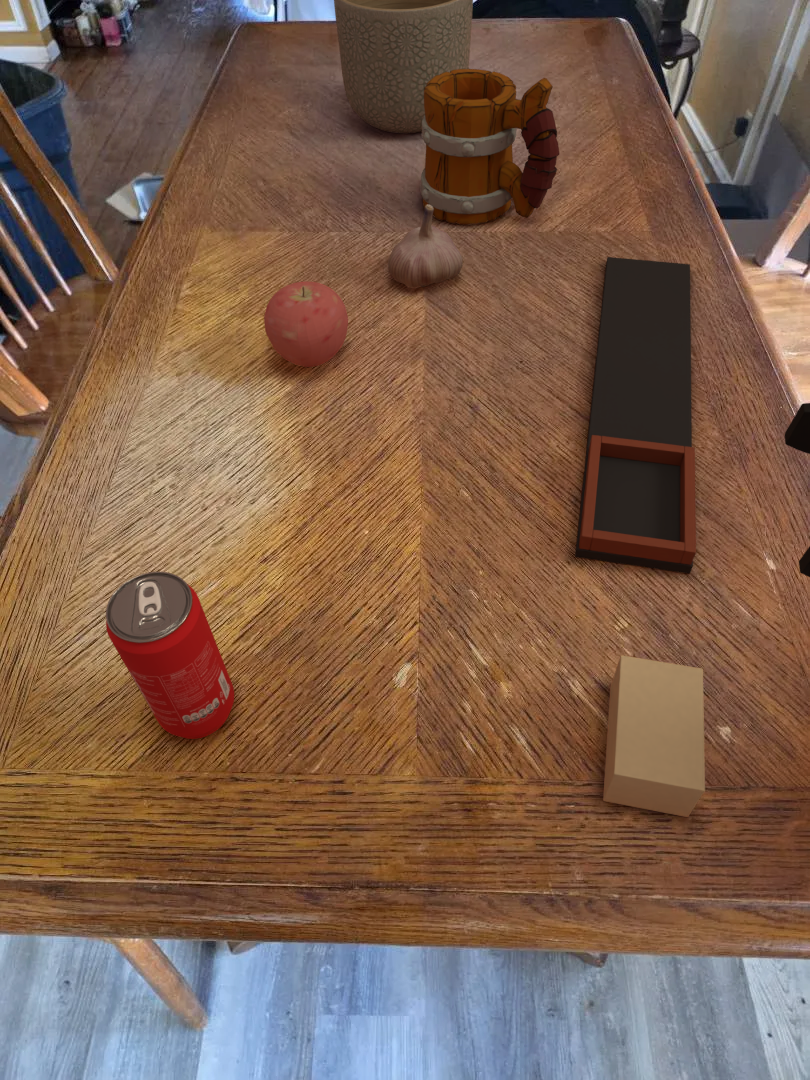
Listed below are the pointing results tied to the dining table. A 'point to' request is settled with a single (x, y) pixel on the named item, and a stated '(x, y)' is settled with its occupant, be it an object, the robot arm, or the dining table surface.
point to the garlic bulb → (425, 255)
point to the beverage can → (171, 653)
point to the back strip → (641, 422)
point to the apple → (306, 323)
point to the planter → (399, 55)
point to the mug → (485, 146)
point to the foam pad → (655, 736)
